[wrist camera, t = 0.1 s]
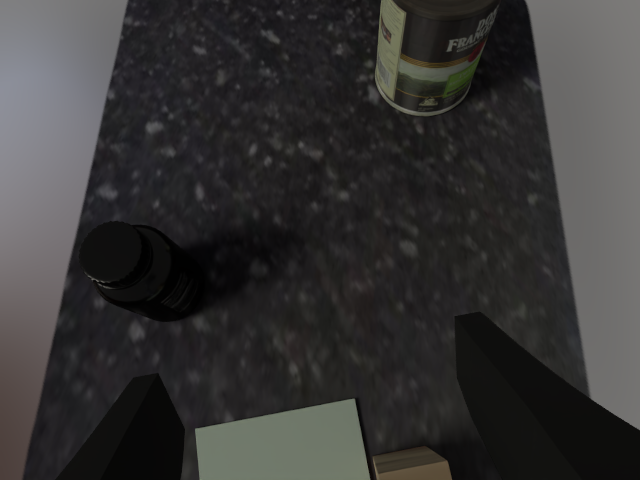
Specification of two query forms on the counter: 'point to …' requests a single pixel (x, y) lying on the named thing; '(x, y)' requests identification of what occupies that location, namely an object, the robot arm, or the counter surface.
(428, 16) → the coffee can
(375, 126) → the counter surface
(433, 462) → the maple block
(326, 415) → the mat
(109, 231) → the supplement bottle
